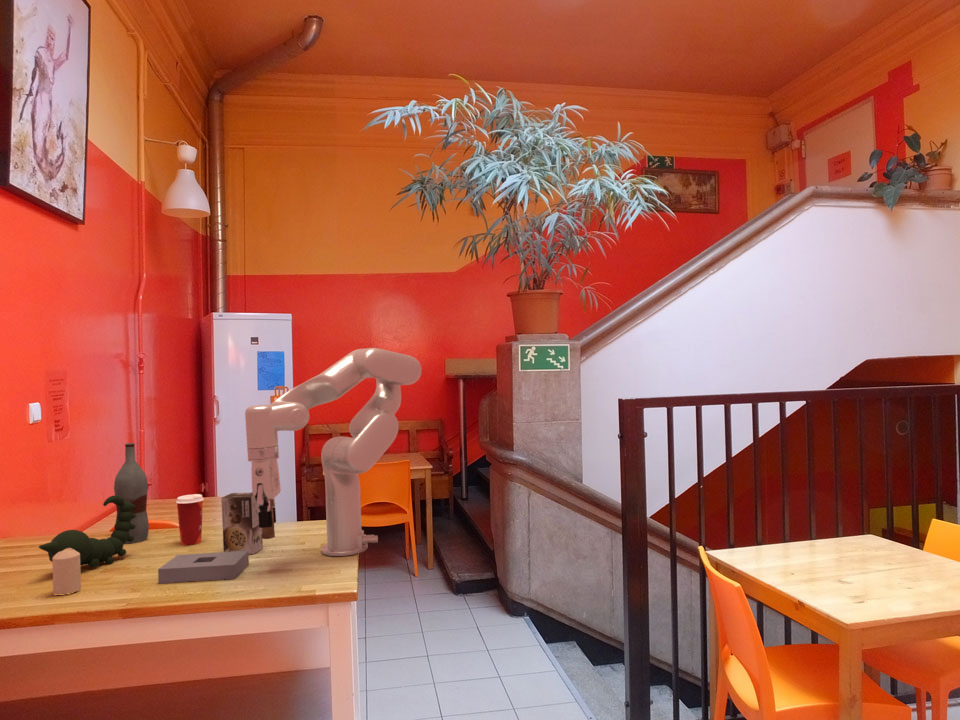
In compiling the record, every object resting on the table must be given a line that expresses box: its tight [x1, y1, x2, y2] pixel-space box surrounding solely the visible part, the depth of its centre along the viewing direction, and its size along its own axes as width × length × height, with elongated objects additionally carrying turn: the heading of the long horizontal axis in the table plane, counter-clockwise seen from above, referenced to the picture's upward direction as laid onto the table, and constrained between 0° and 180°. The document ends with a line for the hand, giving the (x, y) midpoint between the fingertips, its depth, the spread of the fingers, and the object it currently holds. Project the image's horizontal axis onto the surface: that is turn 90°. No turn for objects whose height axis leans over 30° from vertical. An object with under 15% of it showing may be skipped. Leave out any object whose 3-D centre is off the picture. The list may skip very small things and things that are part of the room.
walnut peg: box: [262, 497, 276, 540], centre depth 163 cm, size 3×3×10 cm
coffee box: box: [220, 492, 264, 555], centre depth 180 cm, size 9×6×16 cm
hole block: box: [157, 551, 250, 584], centre depth 161 cm, size 18×12×4 cm, turn 95°
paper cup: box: [175, 493, 205, 547], centre depth 192 cm, size 8×8×14 cm
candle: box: [51, 548, 82, 595], centre depth 151 cm, size 6×6×10 cm
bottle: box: [113, 442, 150, 545], centre depth 197 cm, size 9×9×30 cm
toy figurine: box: [38, 494, 136, 569], centre depth 170 cm, size 9×19×25 cm
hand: (267, 524), depth 163 cm, fingers closed on walnut peg, 3 cm apart
